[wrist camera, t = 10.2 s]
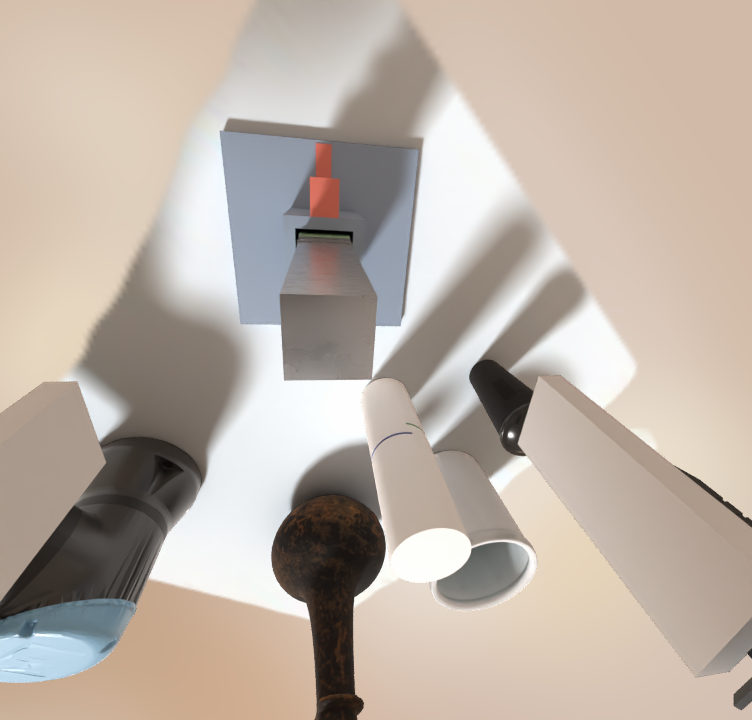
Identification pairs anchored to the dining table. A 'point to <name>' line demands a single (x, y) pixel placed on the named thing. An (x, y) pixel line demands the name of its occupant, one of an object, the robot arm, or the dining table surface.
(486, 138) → the dining table surface
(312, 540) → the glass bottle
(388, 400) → the cylindrical container
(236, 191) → the stand
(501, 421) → the drinking cup
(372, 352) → the column
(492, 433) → the dining table surface
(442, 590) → the utensil holder
